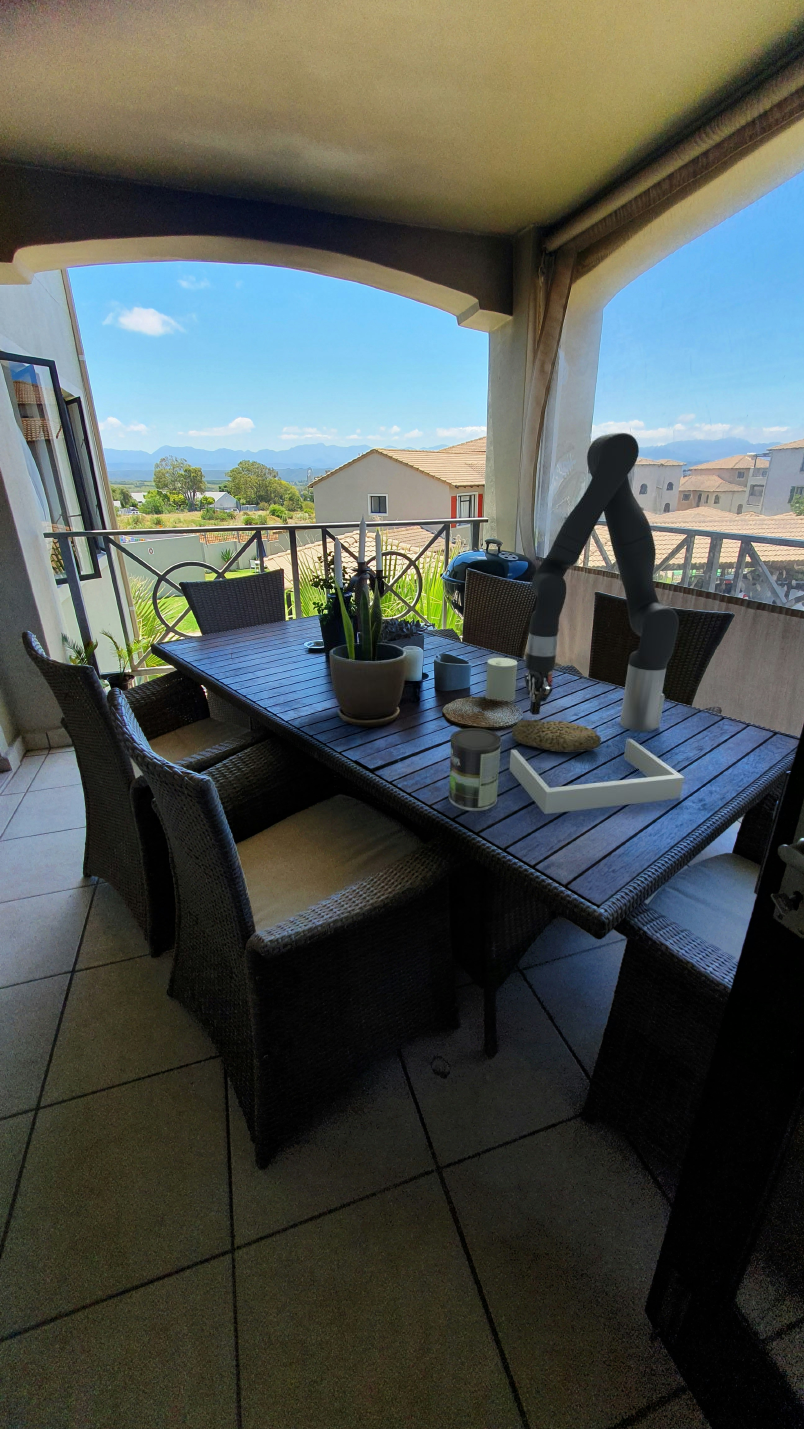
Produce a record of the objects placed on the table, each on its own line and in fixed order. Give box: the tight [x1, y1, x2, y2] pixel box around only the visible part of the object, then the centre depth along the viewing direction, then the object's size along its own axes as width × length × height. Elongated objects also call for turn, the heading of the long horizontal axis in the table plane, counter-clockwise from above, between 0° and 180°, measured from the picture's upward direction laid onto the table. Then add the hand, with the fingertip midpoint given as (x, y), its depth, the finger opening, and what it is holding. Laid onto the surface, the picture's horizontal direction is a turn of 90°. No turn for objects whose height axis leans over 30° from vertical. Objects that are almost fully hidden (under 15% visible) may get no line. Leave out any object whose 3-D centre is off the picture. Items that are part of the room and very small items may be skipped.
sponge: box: [511, 719, 602, 753], centre depth 140 cm, size 13×8×20 cm
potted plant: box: [329, 573, 408, 728], centre depth 154 cm, size 21×22×40 cm
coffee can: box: [448, 727, 502, 812], centre depth 116 cm, size 10×10×14 cm
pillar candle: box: [484, 657, 518, 703], centre depth 173 cm, size 9×9×12 cm
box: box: [509, 738, 685, 815], centre depth 123 cm, size 30×20×5 cm, turn 101°
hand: (534, 713), depth 150 cm, fingers closed
